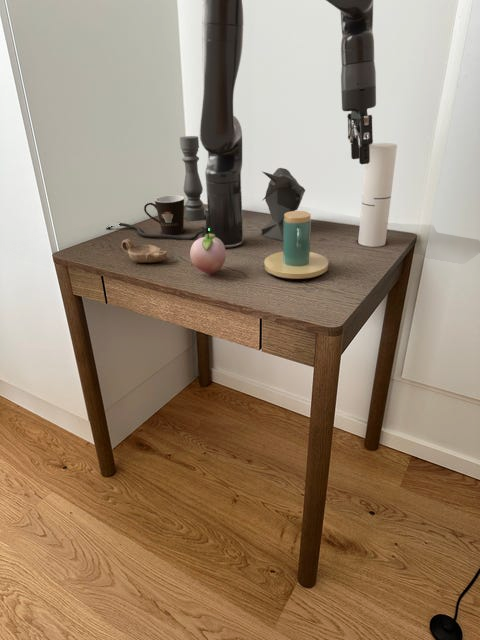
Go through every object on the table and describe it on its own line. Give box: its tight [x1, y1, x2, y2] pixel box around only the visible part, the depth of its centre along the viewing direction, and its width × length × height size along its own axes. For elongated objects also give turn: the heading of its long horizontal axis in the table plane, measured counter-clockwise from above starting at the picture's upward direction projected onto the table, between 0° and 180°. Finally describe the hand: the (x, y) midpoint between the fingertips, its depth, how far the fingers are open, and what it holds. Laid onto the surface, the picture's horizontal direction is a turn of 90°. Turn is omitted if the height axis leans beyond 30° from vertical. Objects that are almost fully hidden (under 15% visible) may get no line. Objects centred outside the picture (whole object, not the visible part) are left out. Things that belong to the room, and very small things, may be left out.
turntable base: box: [273, 275, 318, 282], centre depth 108 cm, size 12×12×1 cm
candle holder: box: [179, 135, 206, 222], centre depth 146 cm, size 6×6×25 cm
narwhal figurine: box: [261, 167, 306, 242], centre depth 133 cm, size 14×15×18 cm
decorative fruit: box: [189, 233, 227, 275], centre depth 106 cm, size 9×8×10 cm
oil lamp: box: [120, 238, 168, 264], centre depth 117 cm, size 13×8×5 cm, turn 61°
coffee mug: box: [143, 194, 185, 236], centre depth 137 cm, size 12×9×10 cm
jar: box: [263, 210, 329, 279], centre depth 105 cm, size 15×15×12 cm
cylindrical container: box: [357, 142, 398, 248], centre depth 119 cm, size 7×7×25 cm
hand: (360, 161), depth 110 cm, fingers open, 8 cm apart
